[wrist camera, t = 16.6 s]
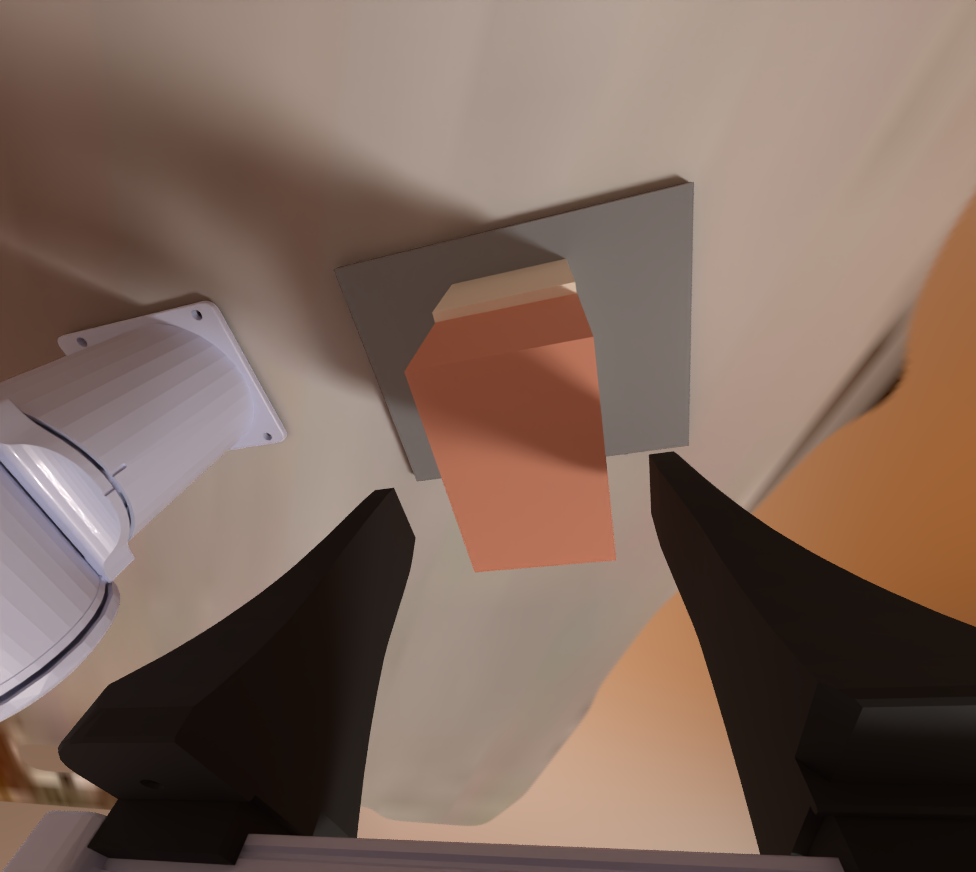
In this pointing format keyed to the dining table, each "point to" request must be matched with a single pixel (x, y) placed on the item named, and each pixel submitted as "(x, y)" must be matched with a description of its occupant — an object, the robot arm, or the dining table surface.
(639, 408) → the base plate
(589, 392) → the red brick
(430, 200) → the dining table surface
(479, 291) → the cream brick
